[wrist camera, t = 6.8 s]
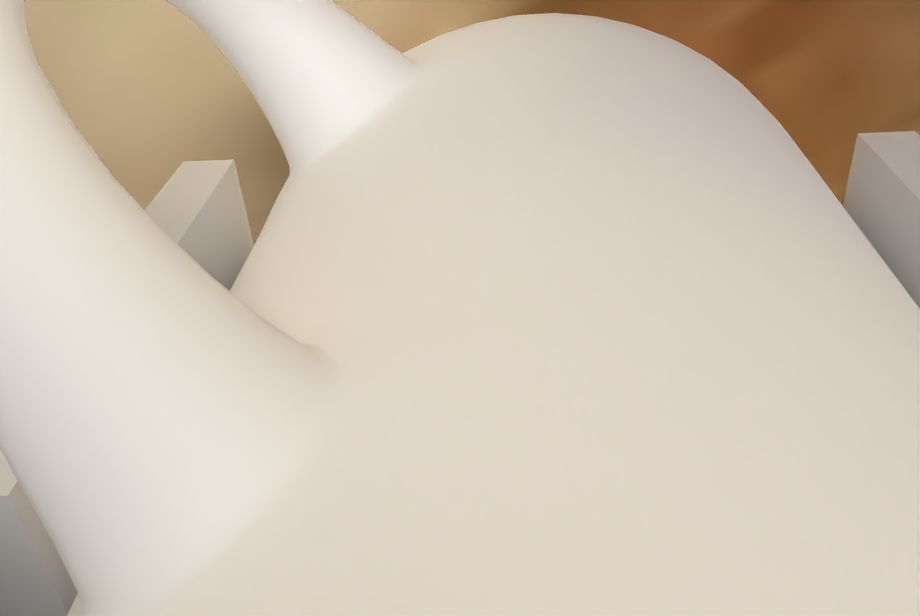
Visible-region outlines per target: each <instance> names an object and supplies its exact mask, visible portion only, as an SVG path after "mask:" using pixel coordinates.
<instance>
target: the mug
mask: <svg viewBox="0 0 920 616" xmlns="http://www.w3.org/2000/svg"><path fill="white" fill-rule="evenodd" d="M24 1H25V0H0V449H1V451H2V453H3V455H4V457H5V458H6V460H7V462H8V464H9V466H10V468H11V470H12V472H13V474H14V475H15V477H16V479H17V481H18V482H19V484H20V486H21V488H22V489H23V491H24V493H25V495H26V496H27V498H28V500H29V502H30V503H31V505H32V507H33V509H34V510H35V512H36V514H37V516H38V517H39V519H40V521H41V523H42V524H43V526H44V528H45V530H46V531H47V533H48V535H49V537H50V538H51V540H52V542H53V544H54V545H55V547H56V549H57V551H58V554H59V556H60V558H61V560H62V562H63V564H64V566H65V568H66V570H67V572H68V574H69V576H70V578H71V580H72V582H73V584H74V586H75V588H76V590H77V592H78V593H77V596H76V598H75V600H74V602H73V604H72V606H71V608H70V610H69V612H68V614H67V616H920V308H919V307H918V306H917V304H916V303H915V302H914V300H913V299H912V298H911V296H910V295H909V294H908V292H907V291H906V290H905V288H904V287H903V286H902V284H901V283H900V282H899V280H898V279H897V278H896V276H895V275H894V274H893V272H892V271H891V270H890V268H889V267H888V266H887V264H886V263H885V262H884V260H883V259H882V258H881V256H880V255H879V254H878V252H877V251H876V250H875V248H874V247H873V246H872V244H871V243H870V242H869V240H868V239H867V238H866V237H865V235H864V234H863V233H862V231H861V230H860V229H859V227H858V226H857V225H856V223H855V222H854V221H853V219H852V218H851V217H850V215H849V214H848V213H847V211H846V210H845V209H844V207H843V206H842V205H841V203H840V202H839V201H838V199H837V198H836V197H835V195H834V194H833V193H832V191H831V190H830V189H829V187H828V186H827V185H826V183H825V182H824V181H823V179H822V178H821V177H820V175H819V174H818V173H817V171H816V170H815V169H814V167H813V166H812V165H811V163H810V162H809V161H808V159H807V158H806V157H805V155H804V154H803V153H802V151H801V150H800V149H799V147H798V146H797V145H796V143H795V142H794V141H793V139H792V138H791V137H790V135H789V134H788V133H787V131H786V130H785V129H784V128H783V127H782V125H781V124H780V123H779V122H778V120H777V119H776V118H775V117H774V116H773V115H772V114H771V113H770V112H769V111H768V110H767V109H766V108H765V107H764V106H763V105H762V104H761V103H760V102H759V101H758V100H757V99H756V98H755V96H754V95H753V94H752V93H751V92H750V91H749V90H748V89H747V88H746V87H745V86H744V85H743V84H742V83H741V82H739V81H738V80H737V79H735V78H734V77H733V76H731V75H730V74H729V73H727V72H726V71H725V70H724V69H722V68H721V67H720V66H718V65H717V64H716V63H714V62H713V61H712V60H710V59H709V58H707V57H705V56H703V55H701V54H699V53H698V52H696V51H694V50H692V49H690V48H688V47H687V46H685V45H683V44H681V43H679V42H677V41H675V40H673V39H671V38H668V37H666V36H663V35H660V34H657V33H655V32H652V31H649V30H647V29H644V28H641V27H638V26H636V25H633V24H629V23H624V22H619V21H615V20H610V19H606V18H601V17H596V16H587V15H575V14H562V13H545V14H528V15H514V16H509V17H504V18H499V19H494V20H489V21H484V22H479V23H475V24H472V25H469V26H466V27H463V28H460V29H457V30H454V31H451V32H448V33H445V34H442V35H439V36H437V37H435V38H433V39H430V40H428V41H426V42H424V43H422V44H420V45H418V46H416V47H414V48H412V49H410V50H408V51H406V52H404V53H401V52H399V51H398V50H396V49H395V48H394V47H392V46H391V45H389V44H388V43H387V42H386V41H384V40H383V39H382V38H380V37H379V36H378V35H377V34H375V33H374V32H373V31H372V30H370V29H369V28H368V27H366V26H365V25H364V24H363V23H361V22H360V21H359V20H357V19H356V18H354V17H353V16H352V15H350V14H349V13H348V12H346V11H345V10H344V9H342V8H341V7H339V6H338V5H337V4H335V3H334V2H332V1H331V0H166V1H168V2H169V3H170V4H172V5H173V6H174V7H175V8H177V9H178V10H179V11H181V12H182V13H183V14H185V15H186V16H187V17H188V18H189V19H190V20H191V21H192V22H193V23H194V24H195V25H196V26H197V27H198V28H199V29H200V30H201V31H202V32H203V33H204V34H205V35H206V36H207V37H208V38H209V39H210V40H211V41H212V42H213V43H214V44H215V46H216V47H217V48H218V49H219V50H220V51H221V53H222V54H223V55H224V56H225V57H226V59H227V60H228V61H229V62H230V63H231V64H232V66H233V67H234V69H235V70H236V71H237V73H238V74H239V76H240V77H241V78H242V80H243V81H244V83H245V84H246V85H247V87H248V88H249V90H250V91H251V93H252V95H253V96H254V98H255V100H256V101H257V103H258V104H259V106H260V108H261V109H262V111H263V113H264V114H265V116H266V118H267V120H268V122H269V123H270V125H271V127H272V129H273V131H274V133H275V135H276V137H277V139H278V140H279V142H280V144H281V147H282V149H283V152H284V154H285V157H286V159H287V161H288V164H289V166H290V175H289V177H288V179H287V181H286V182H285V184H284V186H283V188H282V190H281V192H280V194H279V195H278V197H277V199H276V201H275V203H274V205H273V207H272V209H271V211H270V213H269V216H268V218H267V220H266V222H265V224H264V226H263V229H262V231H261V233H260V235H259V237H258V239H257V241H256V243H255V244H254V246H253V248H252V250H251V252H250V254H249V256H248V258H247V260H246V261H245V263H244V265H243V267H242V269H241V271H240V272H239V274H238V276H237V278H236V280H235V282H234V284H233V285H232V287H231V289H230V291H229V290H228V289H226V288H225V287H224V286H223V285H222V284H220V283H219V282H218V281H217V280H215V279H214V278H213V277H212V276H211V275H210V274H209V273H208V272H207V271H206V270H204V269H203V268H202V267H201V266H200V265H199V264H198V263H197V262H196V261H195V260H194V259H193V258H192V257H191V256H190V255H188V254H187V253H186V252H185V251H184V250H183V249H182V248H181V247H180V246H179V245H178V244H177V243H176V242H175V241H173V240H172V239H171V238H170V237H169V236H168V235H167V234H166V233H165V232H164V231H163V230H162V229H161V228H160V227H159V226H158V225H157V224H156V223H155V222H154V221H153V220H152V218H151V217H150V216H149V215H148V214H147V213H146V212H145V211H144V210H143V209H142V208H141V206H140V205H139V204H138V203H137V202H136V201H135V200H134V199H133V198H132V197H131V196H130V194H129V193H128V192H127V191H126V190H125V189H124V188H123V187H122V186H121V185H120V184H119V182H118V181H117V180H116V179H115V178H114V177H113V176H112V175H111V173H110V172H109V171H108V169H107V168H106V167H105V165H104V164H103V163H102V161H101V160H100V159H99V157H98V156H97V155H96V153H95V152H94V151H93V149H92V148H91V147H90V145H89V144H88V143H87V141H86V140H85V139H84V137H83V136H82V135H81V133H80V132H79V131H78V129H77V128H76V127H75V125H74V124H73V123H72V121H71V120H70V118H69V116H68V115H67V113H66V111H65V110H64V108H63V106H62V104H61V103H60V101H59V99H58V98H57V96H56V94H55V92H54V91H53V89H52V87H51V85H50V84H49V82H48V80H47V79H46V77H45V75H44V73H43V72H42V70H41V68H40V66H39V64H38V61H37V58H36V55H35V53H34V50H33V47H32V45H31V42H30V39H29V37H28V34H27V28H26V18H25V7H24Z"/></svg>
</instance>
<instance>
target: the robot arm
mask: <svg viewBox="0 0 920 616" xmlns="http://www.w3.org/2000/svg"><path fill="white" fill-rule="evenodd" d="M843 207H844V209H845V210H846V211H847V213H848V214H849V215H850V217H851V218H852V219H853V221H854V222H855V223H856V225H857V226H858V227H859V229H860V230H861V231H862V233H863V234H864V235H865V237H866V238H867V239H868V240H869V242H870V243H871V244H872V246H873V247H874V248H875V250H876V251H877V252H878V254H879V255H880V256H881V258H882V259H883V260H884V262H885V263H886V264H887V266H888V267H889V268H890V270H891V271H892V272H893V274H894V275H895V276H896V278H897V279H898V280H899V282H900V283H901V284H902V286H903V287H904V288H905V290H906V291H907V292H908V294H909V295H910V296H911V298H912V299H913V300H914V302H915V303H916V304H917V306H918V307H919V308H920V135H919V134H918V133H917V132H916V131H904V132H880V133H858V134H857V139H856V144H855V148H854V153H853V158H852V163H851V168H850V172H849V177H848V182H847V187H846V192H845V197H844V201H843ZM144 211H145V212H146V213H147V214H148V215H149V216H150V217H151V218H152V220H153V221H154V222H155V223H156V224H157V225H158V226H159V227H160V228H161V229H162V230H163V231H164V232H165V233H166V234H167V235H168V236H169V237H170V238H171V239H172V240H173V241H175V242H176V243H177V244H178V245H179V246H180V247H181V248H182V249H183V250H184V251H185V252H186V253H187V254H188V255H190V256H191V257H192V258H193V259H194V260H195V261H196V262H197V263H198V264H199V265H200V266H201V267H202V268H203V269H204V270H206V271H207V272H208V273H209V274H210V275H211V276H212V277H213V278H214V279H215V280H217V281H218V282H219V283H220V284H222V285H223V286H224V287H225V288H226V289H228V290H229V291H230V289H231V287H232V285H233V284H234V282H235V280H236V278H237V276H238V274H239V272H240V271H241V269H242V267H243V265H244V263H245V261H246V260H247V258H248V256H249V254H250V252H251V250H252V248H253V246H254V244H253V240H252V235H251V231H250V227H249V222H248V218H247V213H246V209H245V204H244V200H243V196H242V191H241V187H240V182H239V178H238V174H237V169H236V165H235V160H234V159H231V160H207V161H183V162H182V164H181V165H180V166H179V167H178V169H177V170H176V171H175V172H174V174H173V175H172V176H171V177H170V179H169V180H168V181H167V182H166V184H165V185H164V186H163V187H162V189H161V190H160V191H159V192H158V194H157V195H156V196H155V197H154V199H153V200H152V201H151V202H150V204H149V205H148V206H147V207H146V209H145V210H144ZM77 593H78V592H77V590H76V588H75V586H74V584H73V582H72V580H71V578H70V576H69V574H68V572H67V570H66V568H65V566H64V564H63V562H62V560H61V558H60V556H59V554H58V551H57V549H56V547H55V545H54V544H53V542H52V540H51V538H50V537H49V535H48V533H47V531H46V530H45V528H44V526H43V524H42V523H41V521H40V519H39V517H38V516H37V514H36V512H35V510H34V509H33V507H32V505H31V503H30V502H29V500H28V498H27V496H26V495H25V493H24V491H23V489H22V488H21V486H20V484H19V482H18V481H17V479H16V477H15V475H14V474H13V472H12V470H11V468H10V466H9V464H8V462H7V460H6V458H5V457H4V455H3V453H2V451H1V449H0V616H67V614H68V612H69V610H70V608H71V606H72V604H73V602H74V600H75V598H76V596H77Z"/></svg>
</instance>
